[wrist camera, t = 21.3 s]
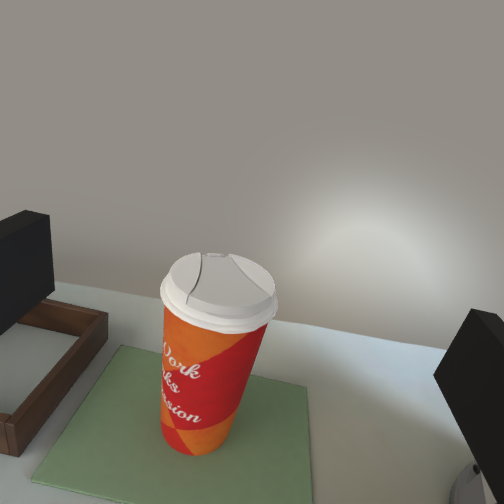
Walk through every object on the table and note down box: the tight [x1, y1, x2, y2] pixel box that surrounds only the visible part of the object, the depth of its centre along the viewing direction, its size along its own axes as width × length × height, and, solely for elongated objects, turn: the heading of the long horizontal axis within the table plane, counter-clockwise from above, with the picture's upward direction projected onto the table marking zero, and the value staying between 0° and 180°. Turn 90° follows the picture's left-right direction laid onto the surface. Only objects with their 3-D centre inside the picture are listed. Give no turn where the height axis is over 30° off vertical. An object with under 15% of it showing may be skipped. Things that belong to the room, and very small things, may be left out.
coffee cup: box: [160, 252, 278, 456], centre depth 26 cm, size 8×8×15 cm
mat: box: [31, 345, 312, 504], centre depth 30 cm, size 20×14×1 cm
